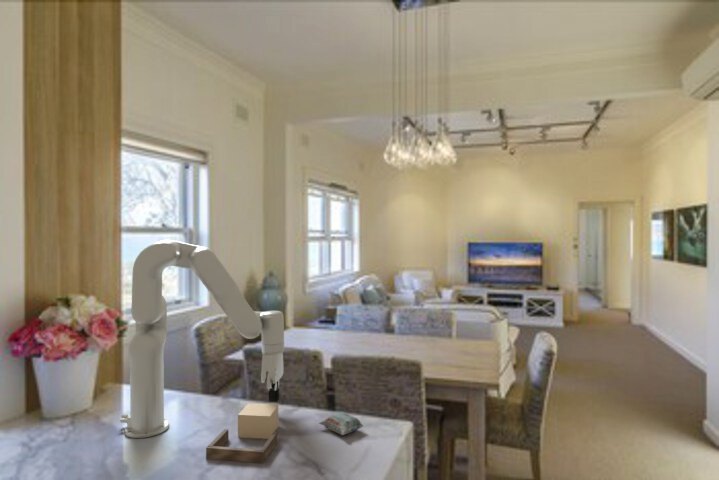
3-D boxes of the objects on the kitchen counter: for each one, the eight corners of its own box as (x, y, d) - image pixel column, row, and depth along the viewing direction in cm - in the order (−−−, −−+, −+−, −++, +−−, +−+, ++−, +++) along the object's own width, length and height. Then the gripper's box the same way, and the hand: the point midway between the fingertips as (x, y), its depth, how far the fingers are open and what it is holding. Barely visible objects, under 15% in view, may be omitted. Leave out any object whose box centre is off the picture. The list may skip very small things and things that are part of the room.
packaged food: (343, 441, 132) (343, 425, 132) (318, 429, 140) (318, 413, 140) (363, 433, 138) (364, 417, 138) (338, 421, 146) (338, 406, 146)
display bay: (206, 458, 121) (206, 447, 121) (224, 439, 133) (224, 429, 133) (263, 463, 119) (263, 452, 119) (277, 442, 131) (277, 432, 130)
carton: (237, 437, 134) (237, 414, 134) (248, 424, 143) (248, 403, 143) (270, 439, 133) (270, 416, 133) (278, 426, 142) (278, 404, 142)
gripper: (269, 341, 159) (270, 392, 159) (254, 353, 144) (255, 409, 144) (290, 342, 157) (291, 393, 158) (276, 353, 143) (277, 410, 143)
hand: (274, 400), depth 151 cm, fingers closed
